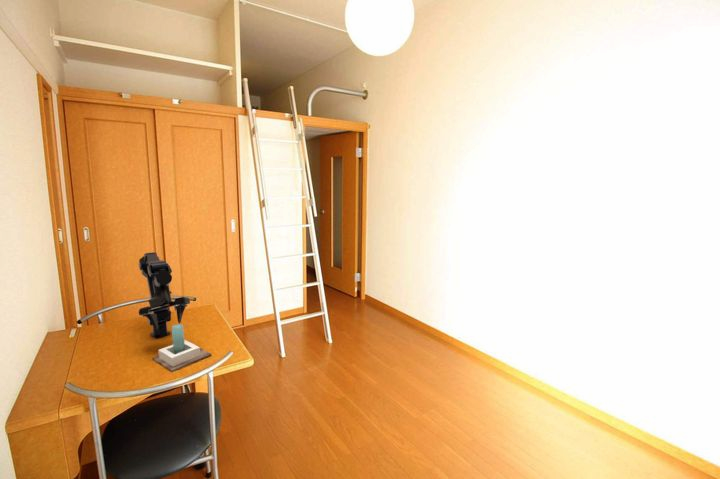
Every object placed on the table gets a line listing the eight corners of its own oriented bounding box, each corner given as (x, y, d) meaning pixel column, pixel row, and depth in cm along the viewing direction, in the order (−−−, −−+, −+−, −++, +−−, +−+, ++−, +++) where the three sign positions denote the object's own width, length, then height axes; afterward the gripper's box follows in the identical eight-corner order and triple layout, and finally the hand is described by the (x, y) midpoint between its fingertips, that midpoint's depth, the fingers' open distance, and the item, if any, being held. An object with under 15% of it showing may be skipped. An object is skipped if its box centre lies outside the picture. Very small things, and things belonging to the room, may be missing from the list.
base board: (152, 359, 141) (152, 357, 141) (191, 344, 154) (191, 343, 154) (172, 372, 132) (171, 370, 132) (211, 355, 145) (211, 353, 145)
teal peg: (171, 358, 141) (169, 327, 138) (179, 353, 144) (176, 323, 142) (180, 359, 140) (178, 328, 138) (187, 354, 144) (185, 324, 141)
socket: (159, 357, 141) (158, 349, 140) (186, 347, 150) (185, 340, 149) (172, 366, 134) (171, 358, 134) (200, 355, 143) (199, 347, 143)
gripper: (128, 295, 141) (134, 333, 138) (175, 282, 143) (182, 320, 140) (143, 296, 152) (149, 332, 149) (187, 284, 154) (193, 320, 151)
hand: (168, 326), depth 147 cm, fingers open, 9 cm apart
